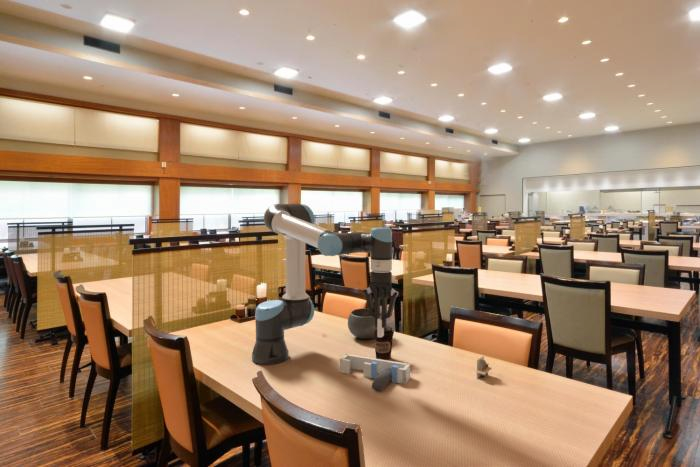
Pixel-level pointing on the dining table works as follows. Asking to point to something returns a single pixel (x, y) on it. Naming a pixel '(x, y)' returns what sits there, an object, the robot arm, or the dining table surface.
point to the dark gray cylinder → (382, 380)
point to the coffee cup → (384, 344)
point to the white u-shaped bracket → (375, 367)
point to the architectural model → (482, 367)
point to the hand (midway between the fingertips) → (380, 336)
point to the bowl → (362, 323)
